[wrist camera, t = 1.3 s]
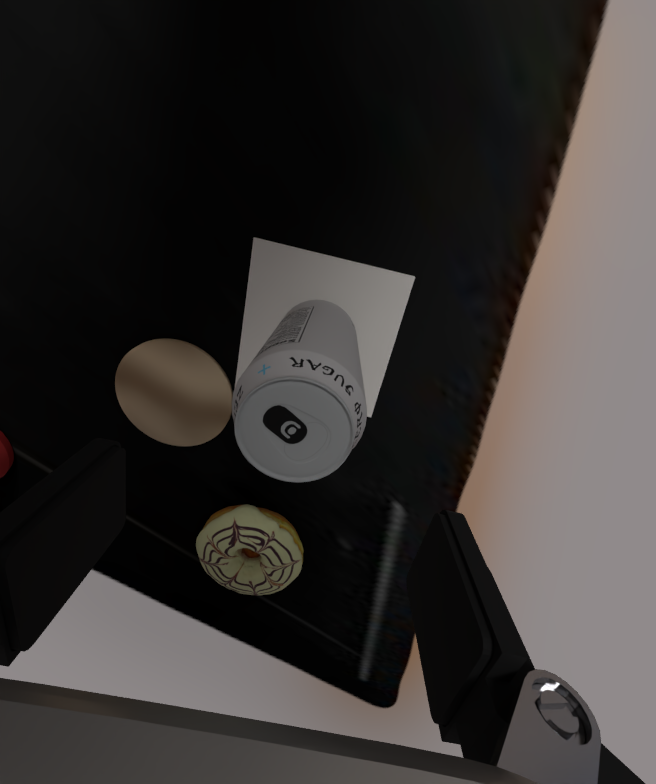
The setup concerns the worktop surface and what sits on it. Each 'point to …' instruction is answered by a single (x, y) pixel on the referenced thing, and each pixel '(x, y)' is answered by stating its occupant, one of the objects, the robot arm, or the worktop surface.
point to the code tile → (330, 283)
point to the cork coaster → (174, 392)
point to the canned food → (5, 455)
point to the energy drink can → (302, 396)
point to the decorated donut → (250, 550)
